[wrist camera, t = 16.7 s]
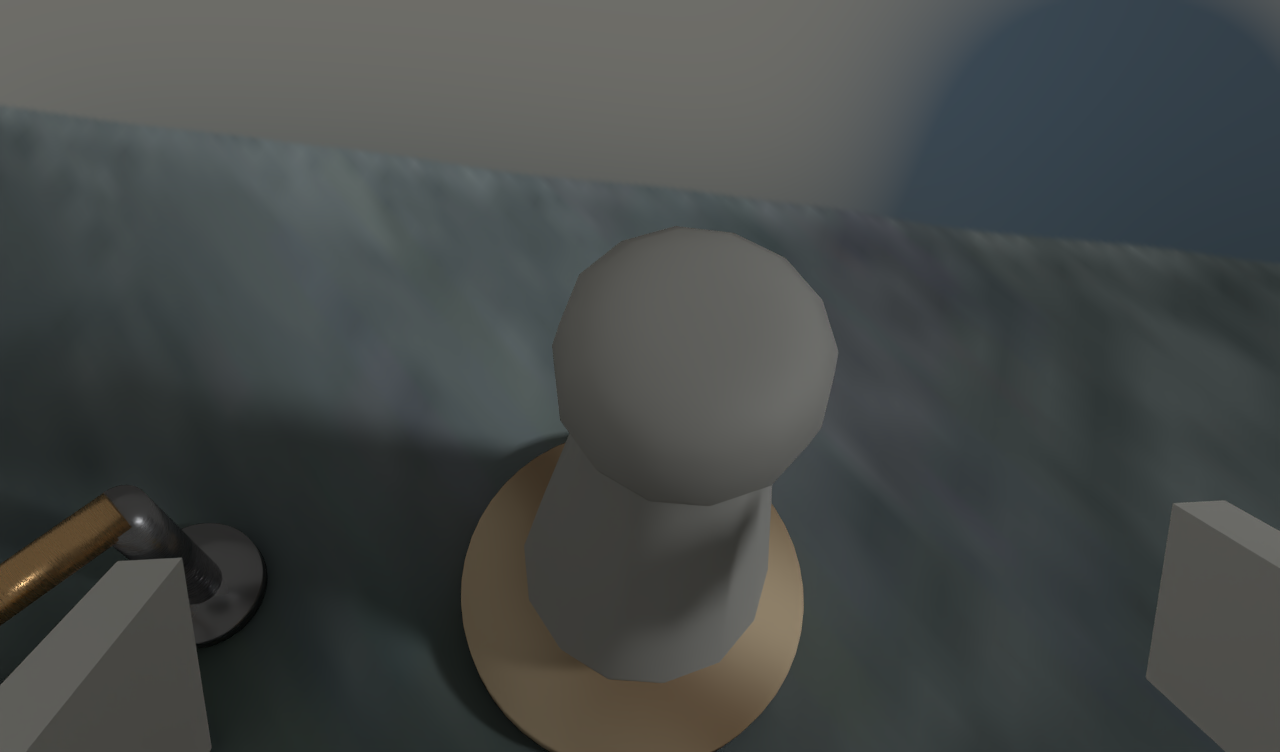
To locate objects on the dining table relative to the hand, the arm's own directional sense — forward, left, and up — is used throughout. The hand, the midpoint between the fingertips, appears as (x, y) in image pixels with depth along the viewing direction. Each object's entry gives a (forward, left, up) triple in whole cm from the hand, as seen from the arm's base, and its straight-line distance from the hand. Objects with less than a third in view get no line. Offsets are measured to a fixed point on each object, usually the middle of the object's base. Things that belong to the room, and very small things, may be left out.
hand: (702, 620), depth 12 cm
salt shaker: (-3, -3, -12) cm, 13 cm away
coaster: (-3, -3, -13) cm, 13 cm away
